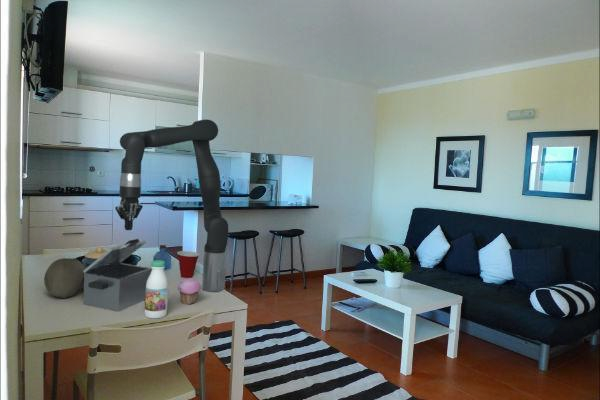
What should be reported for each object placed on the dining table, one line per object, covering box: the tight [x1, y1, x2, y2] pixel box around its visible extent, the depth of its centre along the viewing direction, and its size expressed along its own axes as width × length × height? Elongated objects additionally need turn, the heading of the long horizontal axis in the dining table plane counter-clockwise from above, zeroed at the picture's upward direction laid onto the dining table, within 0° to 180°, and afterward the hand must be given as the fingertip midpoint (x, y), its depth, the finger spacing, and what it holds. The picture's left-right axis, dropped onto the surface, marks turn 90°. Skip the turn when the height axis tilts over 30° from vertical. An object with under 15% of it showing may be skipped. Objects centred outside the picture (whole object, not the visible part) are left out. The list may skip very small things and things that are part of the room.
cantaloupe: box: [43, 257, 85, 299], centre depth 162 cm, size 14×14×15 cm
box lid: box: [83, 238, 147, 273], centre depth 161 cm, size 19×19×3 cm
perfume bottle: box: [152, 244, 172, 271], centre depth 213 cm, size 6×6×12 cm
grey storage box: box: [82, 262, 152, 312], centre depth 160 cm, size 16×22×12 cm
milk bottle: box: [144, 260, 169, 320], centre depth 149 cm, size 8×8×20 cm
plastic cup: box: [177, 250, 201, 279], centre depth 201 cm, size 11×11×12 cm
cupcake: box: [177, 277, 202, 305], centre depth 165 cm, size 9×9×10 cm
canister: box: [81, 246, 108, 291], centre depth 175 cm, size 13×13×18 cm
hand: (128, 229), depth 159 cm, fingers closed
